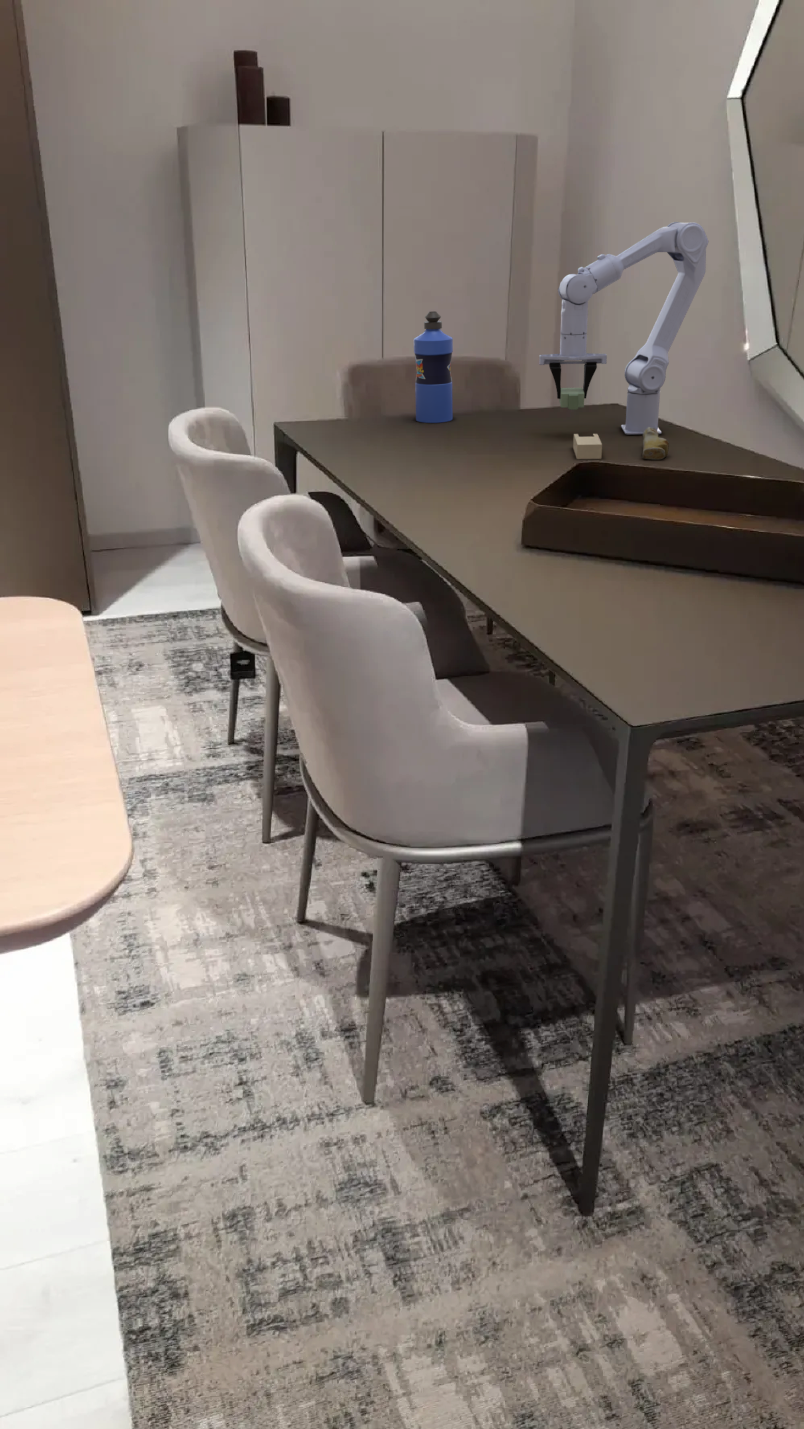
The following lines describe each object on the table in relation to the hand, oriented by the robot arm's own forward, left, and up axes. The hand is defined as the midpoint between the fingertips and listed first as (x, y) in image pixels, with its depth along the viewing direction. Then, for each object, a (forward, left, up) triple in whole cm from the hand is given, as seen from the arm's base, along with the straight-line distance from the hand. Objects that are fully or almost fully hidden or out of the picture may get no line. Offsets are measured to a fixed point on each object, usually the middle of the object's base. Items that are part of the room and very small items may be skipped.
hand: (571, 398), depth 244 cm
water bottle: (-23, -32, -9) cm, 40 cm away
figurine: (+19, +16, -9) cm, 26 cm away
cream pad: (+18, +2, -8) cm, 20 cm away
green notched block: (+1, 0, -1) cm, 2 cm away
